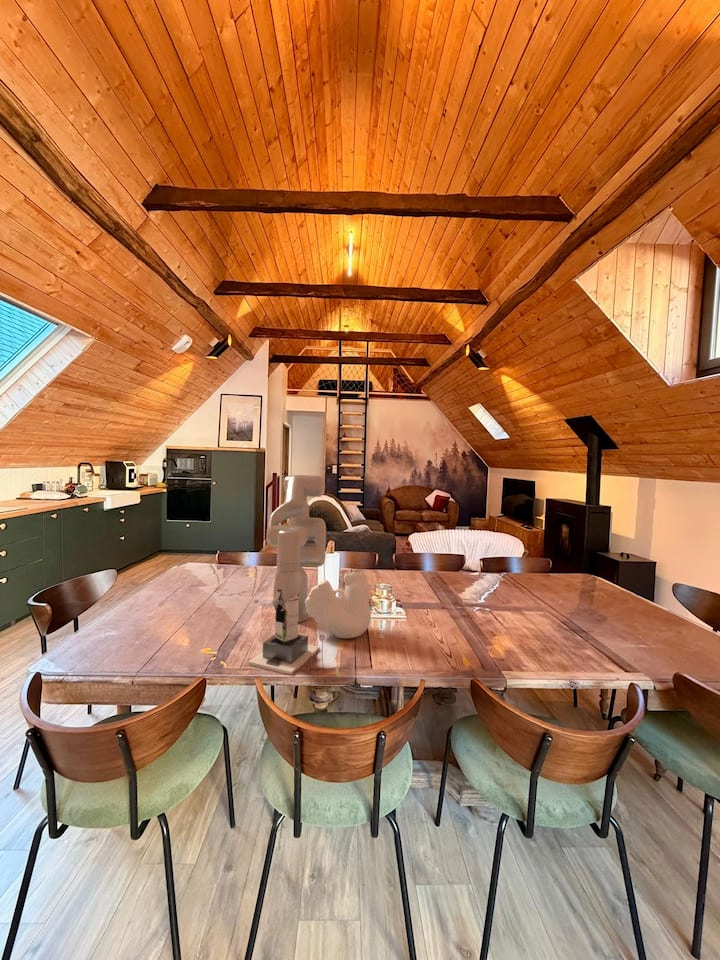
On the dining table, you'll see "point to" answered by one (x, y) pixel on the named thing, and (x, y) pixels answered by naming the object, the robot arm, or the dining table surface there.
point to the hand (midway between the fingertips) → (286, 617)
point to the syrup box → (288, 621)
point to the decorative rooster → (342, 606)
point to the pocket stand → (284, 654)
